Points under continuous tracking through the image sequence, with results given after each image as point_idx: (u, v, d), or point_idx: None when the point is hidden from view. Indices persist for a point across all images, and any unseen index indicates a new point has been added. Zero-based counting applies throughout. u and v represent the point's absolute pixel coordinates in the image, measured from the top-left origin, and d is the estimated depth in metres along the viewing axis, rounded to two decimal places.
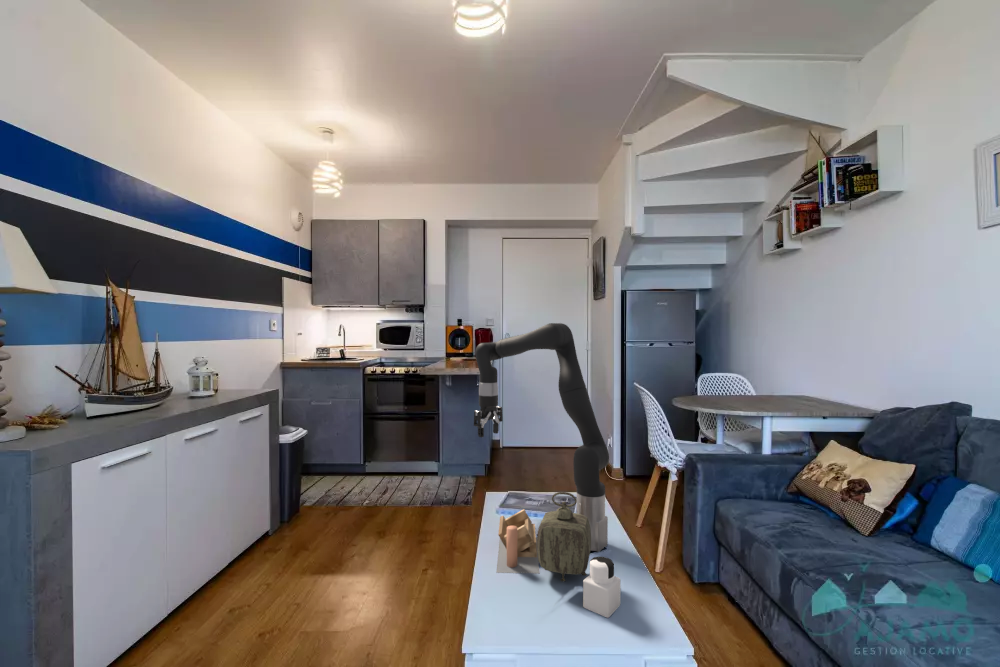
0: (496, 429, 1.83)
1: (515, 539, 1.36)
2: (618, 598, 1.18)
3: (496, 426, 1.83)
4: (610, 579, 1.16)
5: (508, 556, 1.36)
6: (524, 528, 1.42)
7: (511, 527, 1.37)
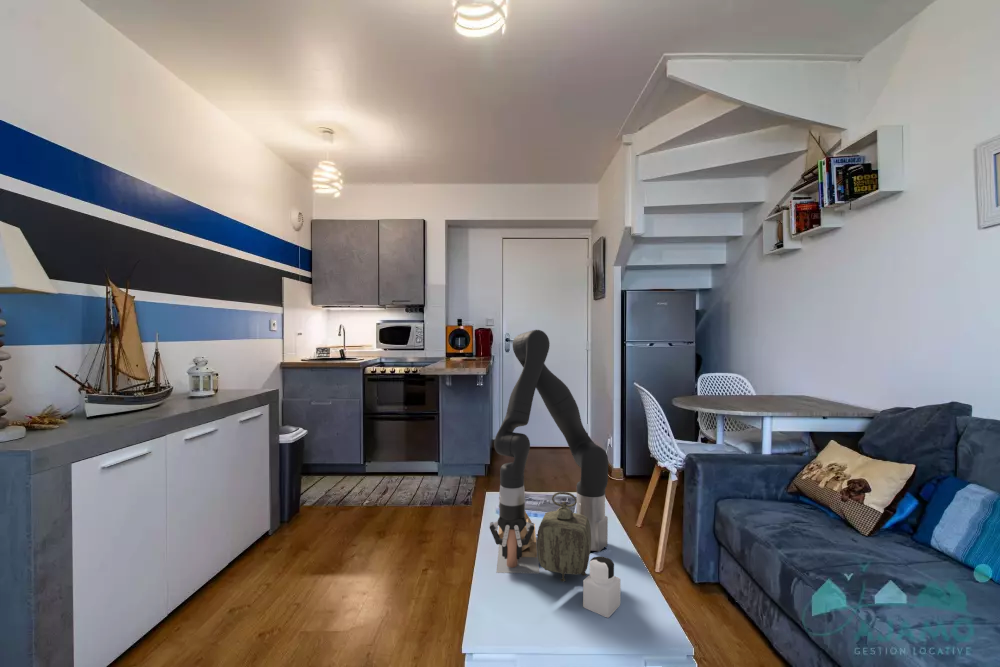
0: None
1: (515, 539, 1.36)
2: (618, 598, 1.18)
3: None
4: (610, 579, 1.16)
5: (508, 556, 1.36)
6: (524, 528, 1.42)
7: None
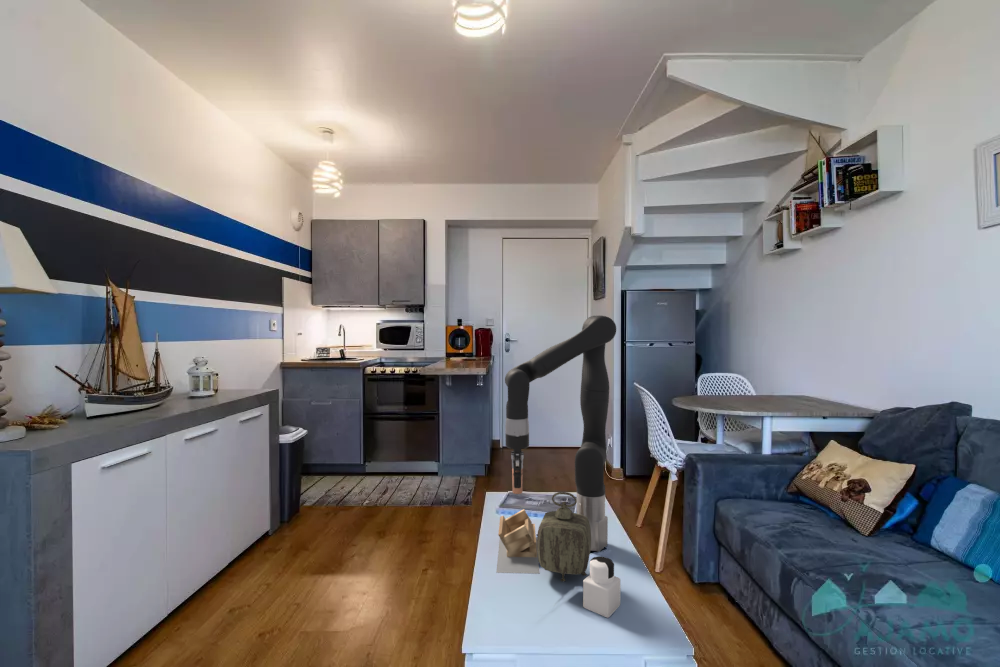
0: None
1: None
2: (618, 598, 1.18)
3: None
4: (610, 579, 1.16)
5: (521, 483, 1.47)
6: (524, 528, 1.42)
7: None
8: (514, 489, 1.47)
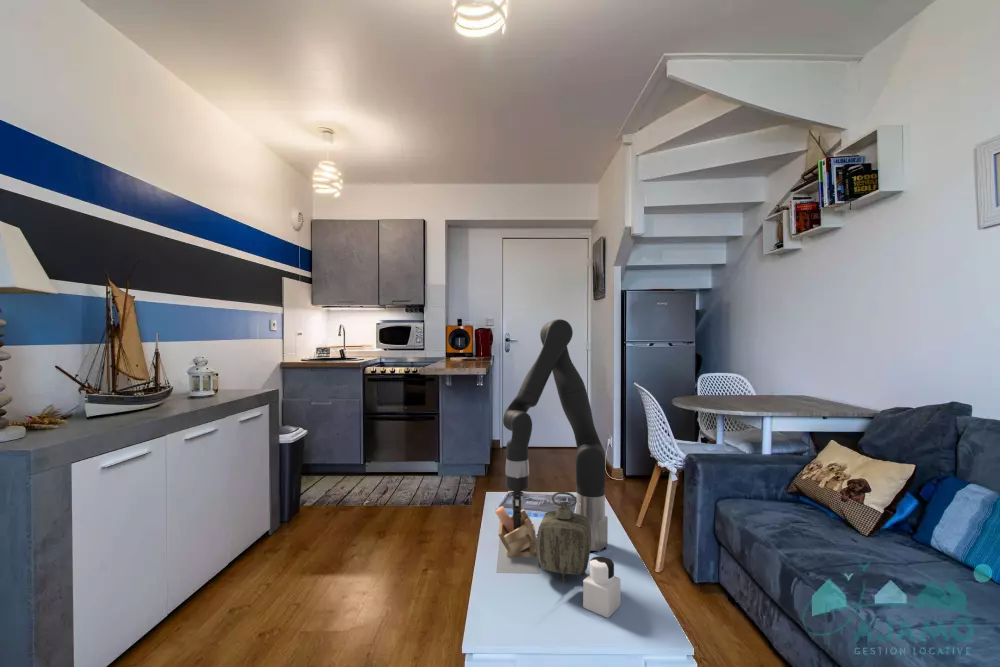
0: None
1: None
2: (618, 598, 1.18)
3: None
4: (610, 579, 1.16)
5: None
6: (524, 528, 1.42)
7: (498, 510, 1.48)
8: None
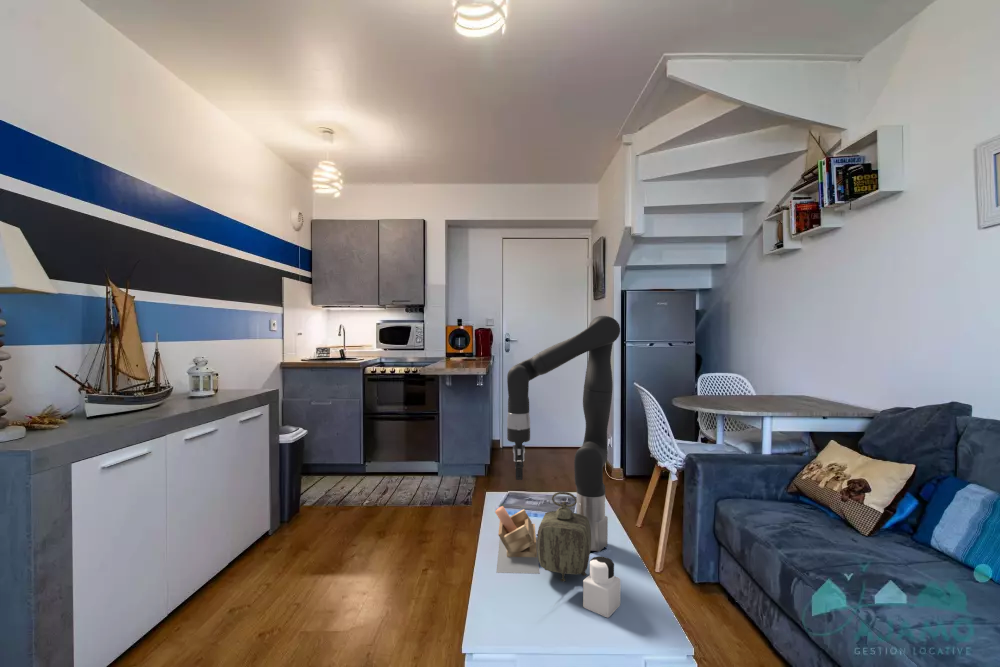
0: None
1: None
2: (618, 598, 1.18)
3: None
4: (610, 579, 1.16)
5: None
6: (524, 528, 1.42)
7: (498, 510, 1.48)
8: None
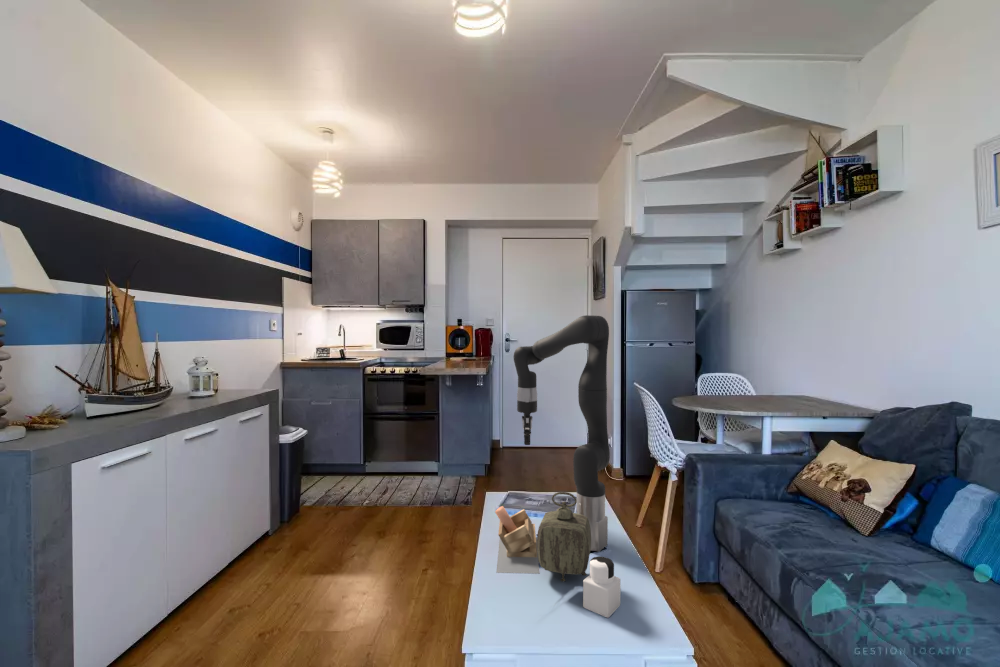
0: None
1: None
2: (618, 598, 1.18)
3: None
4: (610, 579, 1.16)
5: None
6: (524, 528, 1.42)
7: (498, 510, 1.48)
8: None
